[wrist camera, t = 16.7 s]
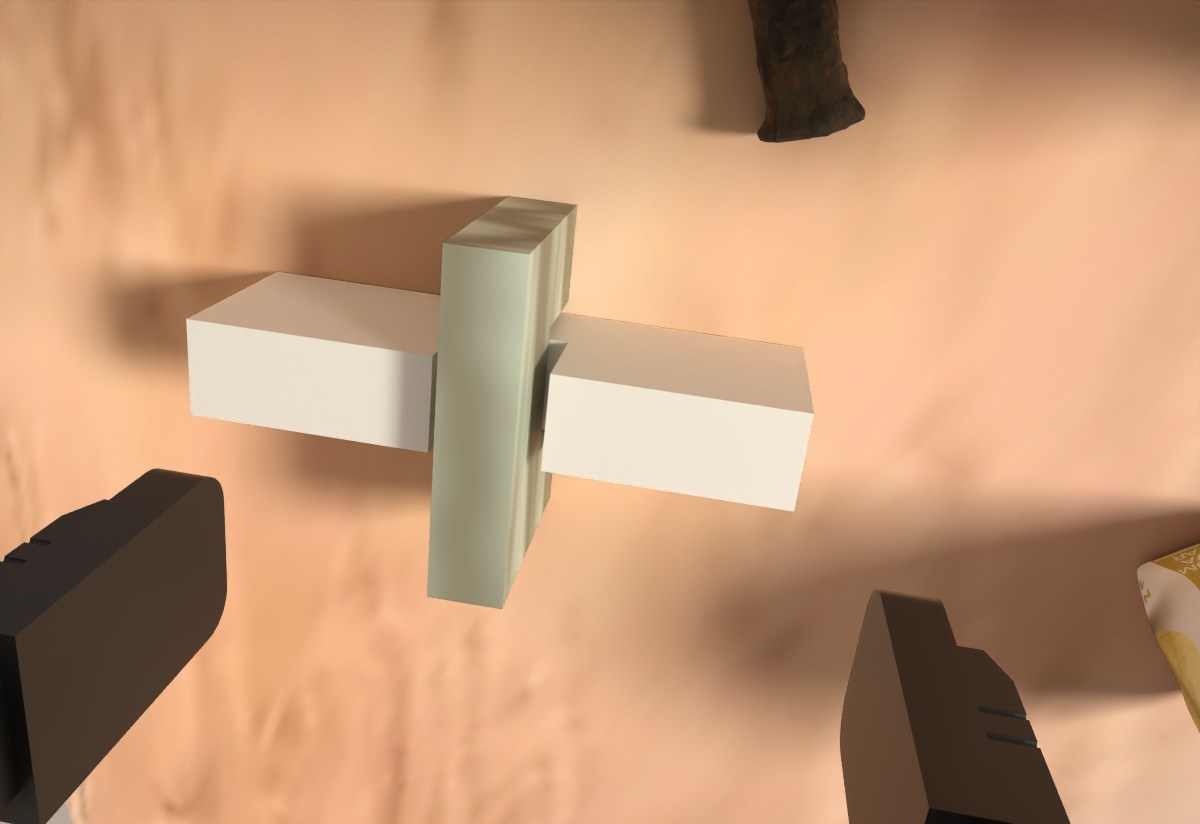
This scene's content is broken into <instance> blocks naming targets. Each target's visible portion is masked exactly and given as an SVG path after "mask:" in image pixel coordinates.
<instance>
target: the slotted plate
mask: <svg viewBox="0 0 1200 824" xmlns="http://www.w3.org/2000/svg"><path fill="white" fill-rule="evenodd" d="M576 212H577V205H572V204H565V203H557V202H549V201H541V200H534V199H526V198H518V197H510V196H508V197H507V198H505V199H504V200H503V201H501V202H500V203H498V204H497V205H496V206H494V207H493V208H491V209H490V210H489V211H487V212H486V213H484V214H483V215H481V216H480V217H479V218H477V219H476V220H474V221H473V222H472V223H470V224H469V225H467V226H466V227H464V228H463V229H462V230H460V231H459V232H457V233H456V234H455V235H453V236H452V237H450V238H449V239H447V240H446V241H445V242H443V245H442V268H441V291H440V313H439V336H438V359H437V381H436V404H435V427H434V449H433V472H432V494H431V517H430V540H429V562H428V585H427V597H432V598H438V599H444V600H450V601H456V602H462V603H468V604H474V605H480V606H485V607H491V608H497V609H502V608H503V606H504V604H505V601H506V599H507V596H508V594H509V592H510V589H511V587H512V585H513V582H514V580H515V578H516V575H517V573H518V571H519V568H520V566H521V563H522V561H523V559H524V556H525V554H526V552H527V549H528V547H529V545H530V542H531V540H532V538H533V535H534V533H535V530H536V528H537V526H538V523H539V521H540V519H541V516H542V514H543V512H544V509H545V507H546V505H547V502H548V500H549V497H550V489H551V479H552V473H550V472H544V471H541V465H542V455H543V444H544V434H545V430H543V429H541V428H542V417H543V405H544V394H545V383H546V371H547V360H548V348H549V337H550V328H551V326H552V325H553V323H554V322H555V320H556V319H557V317H558V316H559V314H560V313H561V311H562V310H563V308H564V306H565V305H566V303H567V302H568V297H569V287H570V276H571V266H572V255H573V244H574V234H575V223H576Z"/></svg>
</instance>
